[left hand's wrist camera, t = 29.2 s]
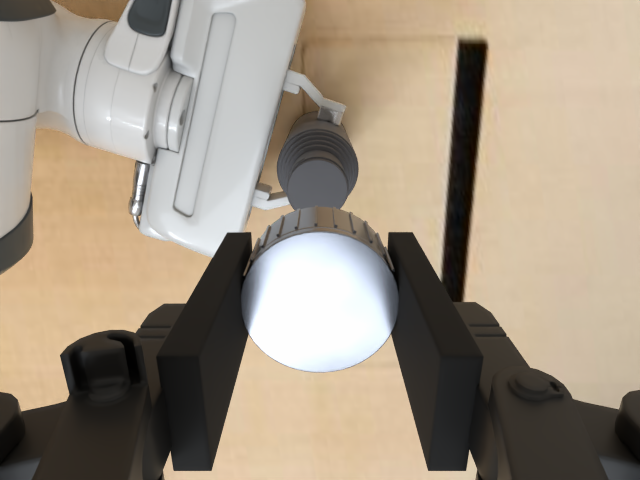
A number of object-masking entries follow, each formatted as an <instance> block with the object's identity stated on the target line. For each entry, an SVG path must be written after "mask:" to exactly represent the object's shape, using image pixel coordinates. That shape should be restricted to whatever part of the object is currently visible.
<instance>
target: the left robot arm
mask: <svg viewBox="0 0 640 480" xmlns="http://www.w3.org/2000/svg"><path fill="white" fill-rule="evenodd" d="M251 253H252V239H251V232H227V234H226V235H225V237H224V239H223V241H222V242H221V244H220V246H219V248H218V249H217V251H216V253H215V255H214V256H213V258H212V260H211V261H210V263H209V265H208V267H207V268H206V270H205V272H204V274H203V275H202V277H201V279H200V281H199V282H198V284H197V286H196V288H195V289H194V291H193V293H192V295H191V296H190V298H189V300H188V301H187V303H186V304H163V305H162V306H160V307H159V308H157V309H156V310H154V311H153V312H151V313H150V314H149V315H148V316H147V318H146V319H145V320H144V322H143V323H142V325H141V328H139V329H138V330H137V332H136V333H134V332H130V331H126V330H108V331H103V332H98V333H94V334H91V335H88V336H86V337H83V338H81V339H79V340H77V341H76V342H74V343H72V344H71V345H69V346H68V347H67V348H66V349H65V350H64V351H63V352H62V354H61V355H60V357H61V361H62V365H63V369H64V374H65V378H66V382H67V386H68V390H69V394H70V395H69V397H68V399H67V401H65V402H62V403H58V404H55V405H50V406H45V407H40V408H36V409H31V410H26V411H22V412H21V409H20V406H19V403H18V400H17V399H16V398H15V397H14V396H13V395H12V394H8V393H3V392H0V480H164V474H163V468H164V466H165V463H166V461H167V458H168V456H169V453H170V451H171V457H172V463H173V469H174V471H212V467H213V463H214V459H215V456H216V452H217V448H218V445H219V441H220V437H221V434H222V430H223V426H224V423H225V419H226V415H227V412H228V408H229V404H230V400H231V397H232V393H233V389H234V386H235V382H236V378H237V375H238V371H239V367H240V364H241V360H242V356H243V352H244V349H245V345H246V341H247V338H248V334H249V333H248V332H247V330H246V328H245V325H244V323H243V318H242V304H241V287H242V283H243V280H244V278H243V274H244V271H245V268H246V266H247V263H248V260H249V258H250V255H251ZM388 253H389V256H390V259H391V261H392V264H393V266H394V269H395V271H394V272H393V273H394V276H395V278H396V281H397V284H398V289H399V300H398V314H397V322H396V324H395V327H394V329H393V331H392V333H391V335H392V339H393V342H394V346H395V350H396V354H397V357H398V361H399V365H400V368H401V372H402V376H403V379H404V383H405V387H406V390H407V394H408V398H409V402H410V405H411V409H412V413H413V416H414V420H415V424H416V427H417V431H418V435H419V438H420V442H421V446H422V450H423V453H424V457H425V461H426V464H427V468H428V471H466V468H467V461H468V455H469V449H470V452H471V454H472V457H473V459H474V462H475V464H476V467H477V474H476V480H640V390H637V391H632V392H629V393H627V394H626V395H625V396H624V397H623V398H622V401H621V405H620V408H619V410H618V409H613V408H609V407H604V406H599V405H594V404H590V403H585V402H581V401H578V400H574V399H573V398H572V396H571V394H570V393H569V391H568V390H567V388H566V387H565V386H564V384H562V383H561V382H560V381H558V380H557V379H555V378H554V377H553V376H551V375H549V374H546V373H544V372H542V371H540V370H537V369H533V368H530V367H529V365H528V364H527V363H526V361H525V360H524V358H523V357H522V356H521V354H520V353H519V351H518V350H517V349H516V347H515V346H514V344H513V343H512V342H511V340H510V339H509V337H507V336H506V333H505V332H504V330H503V329H502V327H499V323H498V322H497V320H496V319H495V318H494V316H493V315H492V313H491V312H489V311H488V310H486V309H485V308H483V307H482V306H480V305H479V304H477V303H476V302H452V300H451V299H450V297H449V295H448V293H447V292H446V290H445V288H444V286H443V285H442V283H441V281H440V279H439V278H438V276H437V274H436V272H435V271H434V269H433V267H432V265H431V264H430V262H429V260H428V259H427V257H426V255H425V253H424V252H423V250H422V248H421V246H420V245H419V243H418V241H417V239H416V238H415V236H414V234H413V232H389V234H388Z"/></svg>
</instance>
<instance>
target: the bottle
mask: <svg viewBox="0 0 640 480" xmlns="http://www.w3.org/2000/svg"><path fill="white" fill-rule="evenodd" d="M317 114H318V111H315V112H310V113H307V114H305V115H303V116H301V117H300V118H299V119H298V120H297V121H296V122H295V123H294V125H293V126H292V128H291V131H290V133H289V135H288V137H287V139H286V141H285V144H284V146H283V148H282V150H281V152H280V155H279V158H278V162H277V175H278V180H279V183H280V185H281V187H282V189H283V191H284V192H285V194H286V195H287V198H288V201H289V203H290V204H291V206H292V207H293V209H294V210H295V211H296V210H297V209H299V208H300V209H304V208H310V207H315V206H318V207H330V208H333V207H336V209H340V208H341V207H342V206H343V204H344V203H345V201H346V199H347V196H348V195H349V194H350V193H351V191H352V190H353V188H354V186H355V184H356V181H357V177H358V161H357V157H356V154H355V152H354V149H353V147H352V145H351V142H350V140H349V138H348V136H347V133H346V131H345V129H344V127H343V125H342V124H341V123H340V126H338V125H335V124H332V123H331V122H330V121H322V120H319V119H317Z"/></svg>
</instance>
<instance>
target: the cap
mask: <svg viewBox="0 0 640 480" xmlns="http://www.w3.org/2000/svg"><path fill="white" fill-rule="evenodd" d="M394 271H395V269H394V266H393V264H392V261H391V259H390V256H389V253H388V251H387V248H386V247H384V246H383V244H382V242H381V239H380V236H379V234H378V233H375V232H374V230H373V229H372V228H371V227H370V226H369V225H368V223H367V222H366V221H363V220H361V219H360V218H358V217H356V216H355V215H353V213H352V212H350V213H348V212H346V211H343V210H340V209H336V207H333V208H330V207H318V206H315V207H310V208H304V209H300V208H299V209H297V210H296V211H294V212H291V213H289V214H287V215H285V216H284V215H282V216H281V218H280V219H278V220H277V221H276V222H274V223H273V224H272V225H271V226H270V225H269V226H267V229H266V231H265V232H264V234H263V235H262V236H261V238H258V239H257V242H256V244H255V247H254V250H253V252H252V253H251V255H250V258H249V260H248V263H247V266H246V268H245V271H244V274H243V278H244V280H243V283H242V287H241V304H242V318H243V323H244V325H245V328H246V330H247V332H248V333H249V335H250V337H251V338H252V340H253V341H254V342H255V344H256V345H257V346H258V347H259V348H260V349H261V350H262V351H263V352H264V353H266V354H267V355H268V356H269V357H271V358H272V359H274V360H275V361H277V362H279V363H281V364H283V365H285V366H288V367H291V368H294V369H297V370H301V371H307V372H333V371H338V370H343V369H346V368H349V367H352V366H354V365H356V364H359V363H361V362H362V361H364V360H366V359H367V358H369V357H370V356H372V355H373V354H374V353H375V352H377V351H378V350H379V349H380V348H381V347H382V346H383V344H384V343H385V342H386V340H387V339H388V338H389V336H390V334H391V333H392V331H393V329H394V327H395V324H396V322H397V314H398V300H399V289H398V284H397V281H396V278H395V276H394V273H393V272H394Z"/></svg>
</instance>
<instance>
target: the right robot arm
mask: <svg viewBox="0 0 640 480" xmlns="http://www.w3.org/2000/svg"><path fill="white" fill-rule="evenodd" d="M305 11H306V2H305V0H129V2H128V4H127V6H126V8H125V10H124V12H123V13H122V15H121V17H120V19H119V21H118V22H115V21H112V20H108V19H90V18H84V17H81V16H78V15H76V14H74V13H72V12H70V11H69V10H67V9H66V8H64V7H63V6H61V5H59V4H58V3H56V2H54V1H52V0H0V275H1V274H2V273H4V272H5V271H7V270H8V269H9V268H11V267H12V266H13V265H15V264H16V263H17V262H18V261H19V260H21V259H22V258H23V257H24V256H25V255H26V254H27V253H28V251H29V250H30V248H31V246H32V243H33V200H32V193H31V183H32V171H33V158H34V146H35V134H36V129H52V130H57V131H60V132H63V133H65V134H67V135H69V136H71V137H72V138H74V139H75V140H77V141H78V142H80V143H82V144H85V145H88V146H91V147H94V148H97V149H101V150H104V151H107V152H111V153H114V154H117V155H121V156H124V157H127V158H131V159H134V160H136V164H135V171H134V176H133V190H132V197H130V201H129V213H130V214H131V215H133V221H134V223H135V225H136V227H137V228H138V229H139V231H140V232H141V233H142V234H144V235H146V236H149V237H152V238H156V239H159V240H163V241H172V242H174V243H177V244H179V245H181V246H183V247H185V248H188V249H190V250H193V251H195V252H198V253H200V254H203V255H206V256H209V257H212V258H213V256H214V255H215V253H216V251H217V249H218V248H219V246H220V244H221V242H222V241H223V239H224V237H225V235H226V234H227V232H245V231H246V228H247V224H248V220H249V217H250V213H251V209H252V206H253V207H257V208H260V209H263V210H268V209H273V208H277V207H281V206H286V205H290V203H289V201H288V198H287V195H286V194H285V192H284V191H282V192H277V193H272V194H271V190H272V187H271V186H269V185H266V184H262V183H259V180H260V177H261V173H262V169H263V166H264V162H265V158H266V155H267V151H268V147H269V144H270V140H271V136H272V133H273V129H274V125H275V122H276V118H277V114H278V111H279V107H280V103H281V100H282V96H283V92H284V91H288V92H291V93H294V94H298V93H299V92H300V89H301V87H302V88H303V89H304V91H305V92H306V93H307V94H308V95H309V96H310V97H311V98H312V99H313V101H314V102H315V103H316V104H317V105H318V106H319V111H318V114H317V119H319V120H322V121H330V122H331V123H332V124H335V125H338V126H340V123H341V121H342V118H343V115H344V112H345V109H346V105H344V104H342V103H339V102H336V101H333V100H330V99H327V98H324V97H323V95H322V94H321V93H320V91H319V90H318V89H317V88H316V87H315V86H314V85H313V83H312V82H311V81H310V80H309V79H308V78H307V77H306V75H304V74H301V73H298V72H296V71H293V70H290V67H291V63H292V59H293V56H294V52H295V48H296V45H297V41H298V37H299V34H300V30H301V26H302V23H303V19H304V15H305ZM138 216H141V219H140V221H139V218H138Z"/></svg>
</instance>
